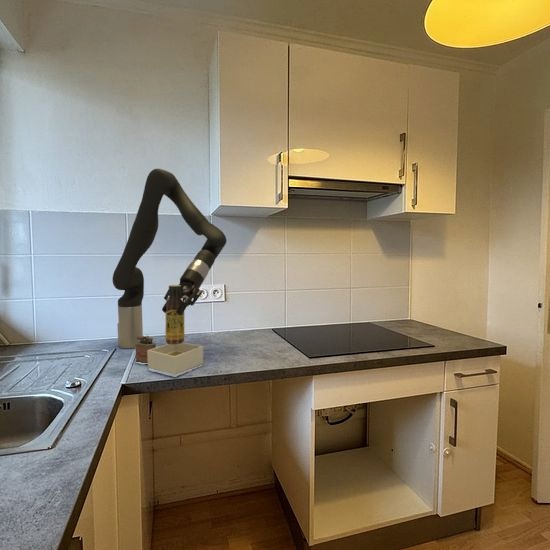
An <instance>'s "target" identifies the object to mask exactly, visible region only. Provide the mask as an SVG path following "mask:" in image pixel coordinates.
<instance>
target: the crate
mask: <svg viewBox="0 0 550 550" xmlns="http://www.w3.org/2000/svg"><path fill="white" fill-rule="evenodd" d="M147 358H148V365H147V369H148V368H151V369H154V370H158V371H162V372H167V373H171V374H174V375H176V374H178V373H181V372H184V371H187V370H189V369H192V368H195V367H198V366H200V365H203V366H204V346H202V345H197V344H193V343H189V342H188V343H187V342H182V343H180V344H167V343H165V344H162V345H160V346H156V348H153V349H150V350H147Z"/></svg>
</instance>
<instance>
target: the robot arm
mask: <svg viewBox="0 0 550 550" xmlns="http://www.w3.org/2000/svg"><path fill="white" fill-rule="evenodd" d="M164 195H165V196H166V197H167V199H169V200H171V202H173V204H174V205H175V206H176V208H177V209H178V211H179V213H180V215H181V218H182V219H183V221H184V222H185V223H186V224H187V225H188V227H189V228H190V229H191V230H192V231H193V233H195V234H196V235H197V236H203V237H204V238H206V241H205V243H204V244H203V246H202V247H201V249H200V250H199V251H198V253H197V254H196V255H195V257H193V259H192V261H191V262H190V263H189V264H188V266H187V267H186V269H185V270H184V272H183V273H182V275H180V276H181V277H180V278H179V284H178V285H181V299H182V302H183V303H181V304H180V305H179V307H178V309H177V310H176V313H177V314H178V315H181V314H182V313H183V312H184V313H185V310H186V309H187V307H189V306H194V305H195V303H196V302H197V301H198V299H199V298H200V297H201V295H202V293H203V292H202V290H201V289H200V288H201V286H202V284H203V283H204V281H205V280H206V278H207V276H208V275H209V272H210V270H211V268H212V267H213V266H214V263H215V261H216V259H217V257H218V256H219V255H220V253H221V252H222V250H223V248H224V247H226V244H227V237H226V235H225V233H224V232H223V231H222V230H221V229H220V228H218V226H216V225H215V224H213V223H212V222H210V221H209V220H208V219H207V218H206V216H205V215H204V214H203V213H202V212H201V211H200V209H199V208H198V207H197V206H196V204H194V202H193V201H192V200H191V198H190V197H189V196H188V194H187V193H186V191H185V190H184V188H183V187H182V185H181V184H180V182H179V180H178V179H177V178H176V176H175V174H173V173H172V172H170V171H167V170H166V169H161V168H154V169H152V170H151V171H150V172H149V173H148V175H147V177H146V181H145V184H144V188H143V193H142V197H141V201H140V203H139V206H138V210H137V213H136V216H135V219H134V221H133V224H132V227H131V229H130V233H129V236H128V238H127V242H126V244H125V247H124V249H123V252H122V255H121V256H120V259H119V261H118V263H117V265H116V267H115V270H114V271H113V274H112V278H111V279H112V284H113V287H114V288H115V289H116V290H118V291H123V294H122V296H120V297H119V298H118V299H117V315H118V323H117V325H116V326H117V344H118V346H119V348H121V349H136V345H135V342H139V341H140V340H137V336H144V334H143V333H144V332H143V331H144V328H143V305H142V303H143V300H144V292H145V290H144V289H145V278H144V274H143V272H142V270H141V269H140V268H139V267H137V265H138V263H139V262H140V259H142V257H143V256H144V255H145V253H146V252H147V251H148V250H149V249H150V248H151V246H152V245H153V243H154V240H155V238H156V235H157V233H158V228H159V208H160V204H161V202H162V199H163V197H164ZM167 289H168V290H167V292H166V293H165V295H164V297H163V299H164V300H165V301H166V302H165V303H164V305H163V306H162V307H161V311H162V313H164V314H166V304H167V302H168V300H169V288H167Z"/></svg>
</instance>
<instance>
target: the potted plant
mask: <svg viewBox="0 0 550 550" xmlns="http://www.w3.org/2000/svg"><path fill="white" fill-rule="evenodd" d="M153 338H154V337H153V336H151V337H150V335H145V336H144V335H143V336H137V340H140V341H139V342H135V345H136V348H135V363H136V362H141V363H148V358H147V350H150V349H153V348H156V347H157V342H153Z"/></svg>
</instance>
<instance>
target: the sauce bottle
mask: <svg viewBox="0 0 550 550" xmlns="http://www.w3.org/2000/svg"><path fill="white" fill-rule="evenodd" d="M168 289H169V296H168V297H169V300H168V302H167V304H166V313H165V344H180V343H182V342H183V343H185V342H184V341H185V311H184V312H183V313H182V314H181V315H178V314H177V313H176V310H177V309H178V307H179V305H180V304H181V303H183V302H182V301H183V299H182V298H181V285H179V284H170V285H168Z"/></svg>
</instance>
